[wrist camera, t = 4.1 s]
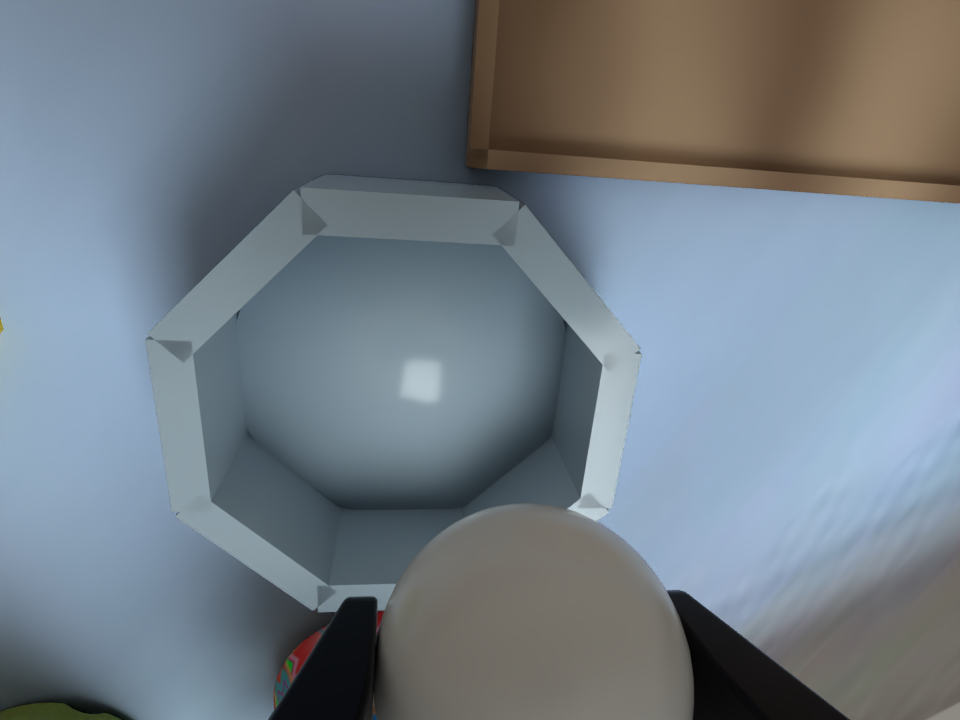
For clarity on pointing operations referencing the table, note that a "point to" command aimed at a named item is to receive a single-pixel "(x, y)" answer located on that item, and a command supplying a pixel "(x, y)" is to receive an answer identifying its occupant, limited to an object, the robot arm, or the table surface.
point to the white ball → (531, 626)
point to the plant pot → (50, 713)
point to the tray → (722, 93)
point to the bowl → (385, 382)
